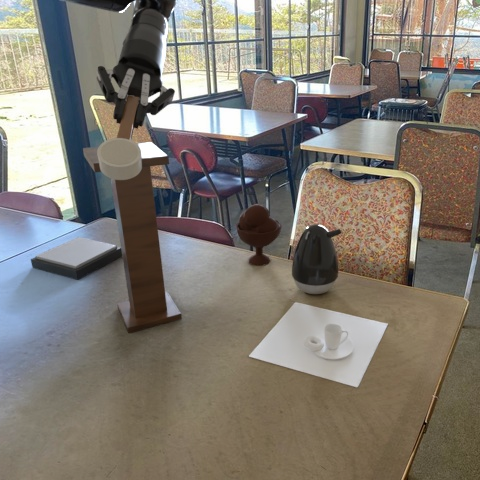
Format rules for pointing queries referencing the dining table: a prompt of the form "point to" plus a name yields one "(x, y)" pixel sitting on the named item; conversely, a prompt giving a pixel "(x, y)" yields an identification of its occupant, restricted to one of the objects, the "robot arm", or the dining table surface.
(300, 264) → the pump dispenser
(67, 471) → the dining table surface
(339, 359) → the teacup and saucer
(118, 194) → the wooden lectern stand
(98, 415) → the dining table surface
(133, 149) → the white handled cylinder
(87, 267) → the scale
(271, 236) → the ice cream bowl
